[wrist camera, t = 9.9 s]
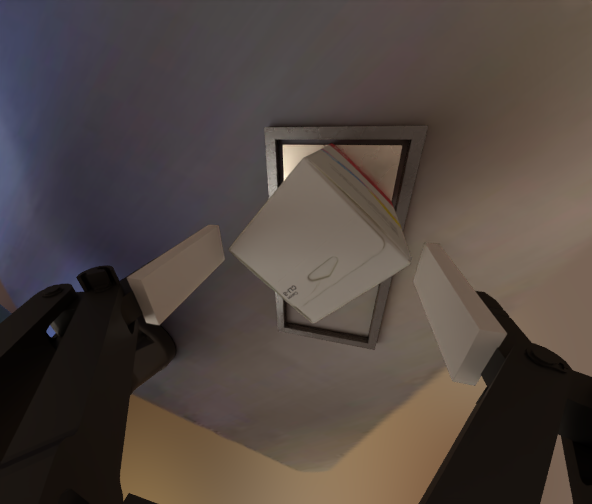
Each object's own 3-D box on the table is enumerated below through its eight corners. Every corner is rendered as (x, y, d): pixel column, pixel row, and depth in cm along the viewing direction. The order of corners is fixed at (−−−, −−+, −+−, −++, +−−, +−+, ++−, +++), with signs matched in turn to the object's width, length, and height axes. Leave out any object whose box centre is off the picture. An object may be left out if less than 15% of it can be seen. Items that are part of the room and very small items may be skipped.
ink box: (331, 138, 21) (305, 148, 11) (393, 202, 22) (421, 264, 12) (277, 203, 25) (222, 253, 15) (331, 253, 26) (314, 330, 16)
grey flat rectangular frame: (279, 326, 35) (277, 331, 34) (267, 127, 22) (264, 127, 21) (374, 343, 32) (374, 349, 31) (425, 125, 19) (428, 125, 18)
